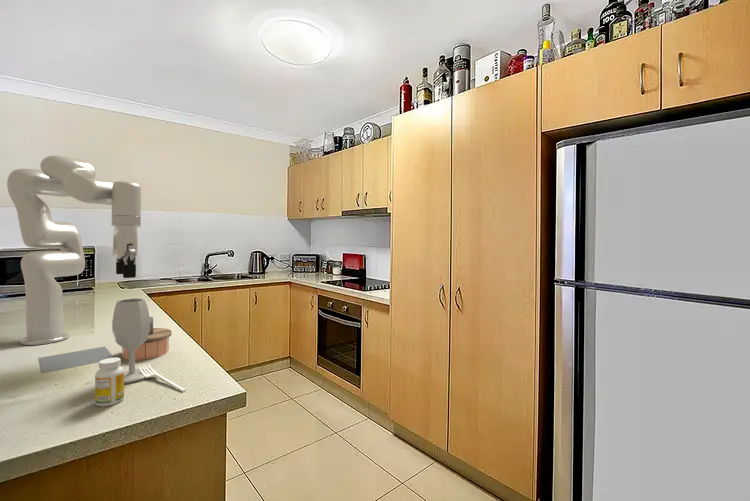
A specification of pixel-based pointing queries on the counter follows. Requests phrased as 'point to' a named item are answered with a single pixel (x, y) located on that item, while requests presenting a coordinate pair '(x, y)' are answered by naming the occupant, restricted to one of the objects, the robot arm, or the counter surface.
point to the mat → (73, 359)
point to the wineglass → (131, 331)
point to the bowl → (149, 350)
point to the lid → (157, 333)
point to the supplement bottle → (109, 382)
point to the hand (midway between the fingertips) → (125, 275)
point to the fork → (159, 377)
